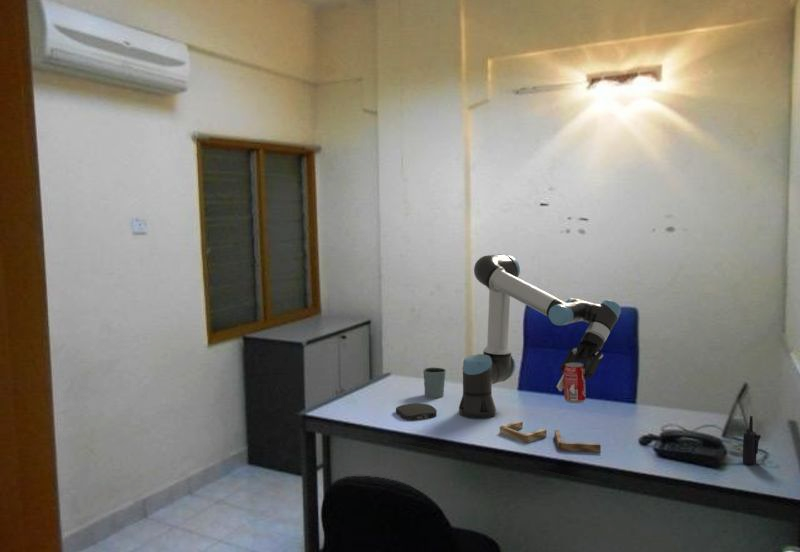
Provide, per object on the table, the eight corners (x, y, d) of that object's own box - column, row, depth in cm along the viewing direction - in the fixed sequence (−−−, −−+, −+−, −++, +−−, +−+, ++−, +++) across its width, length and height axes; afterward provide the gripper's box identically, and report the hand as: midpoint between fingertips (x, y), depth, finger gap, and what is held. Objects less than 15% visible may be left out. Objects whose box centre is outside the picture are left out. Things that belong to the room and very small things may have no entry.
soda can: (586, 404, 206) (586, 366, 205) (565, 403, 207) (564, 366, 206) (584, 398, 213) (583, 362, 212) (563, 398, 214) (562, 362, 213)
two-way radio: (746, 459, 196) (748, 413, 195) (761, 462, 193) (763, 416, 192) (740, 463, 192) (742, 417, 191) (756, 467, 189) (758, 420, 188)
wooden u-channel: (519, 427, 229) (519, 420, 229) (546, 436, 219) (546, 429, 219) (499, 433, 223) (499, 426, 223) (526, 442, 213) (526, 436, 212)
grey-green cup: (418, 395, 274) (418, 369, 273) (434, 391, 281) (434, 366, 280) (434, 400, 267) (434, 373, 266) (450, 395, 274) (450, 369, 273)
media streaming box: (425, 408, 257) (425, 401, 256) (439, 417, 243) (439, 410, 243) (393, 412, 251) (393, 405, 251) (406, 422, 238) (406, 414, 238)
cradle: (556, 436, 219) (556, 429, 219) (602, 451, 204) (602, 444, 204) (537, 442, 213) (537, 435, 213) (583, 458, 198) (583, 451, 198)
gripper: (621, 347, 211) (592, 402, 203) (579, 341, 226) (550, 391, 217) (611, 334, 208) (581, 389, 199) (569, 328, 222) (540, 379, 214)
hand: (565, 390), depth 208 cm, fingers closed on soda can, 5 cm apart
